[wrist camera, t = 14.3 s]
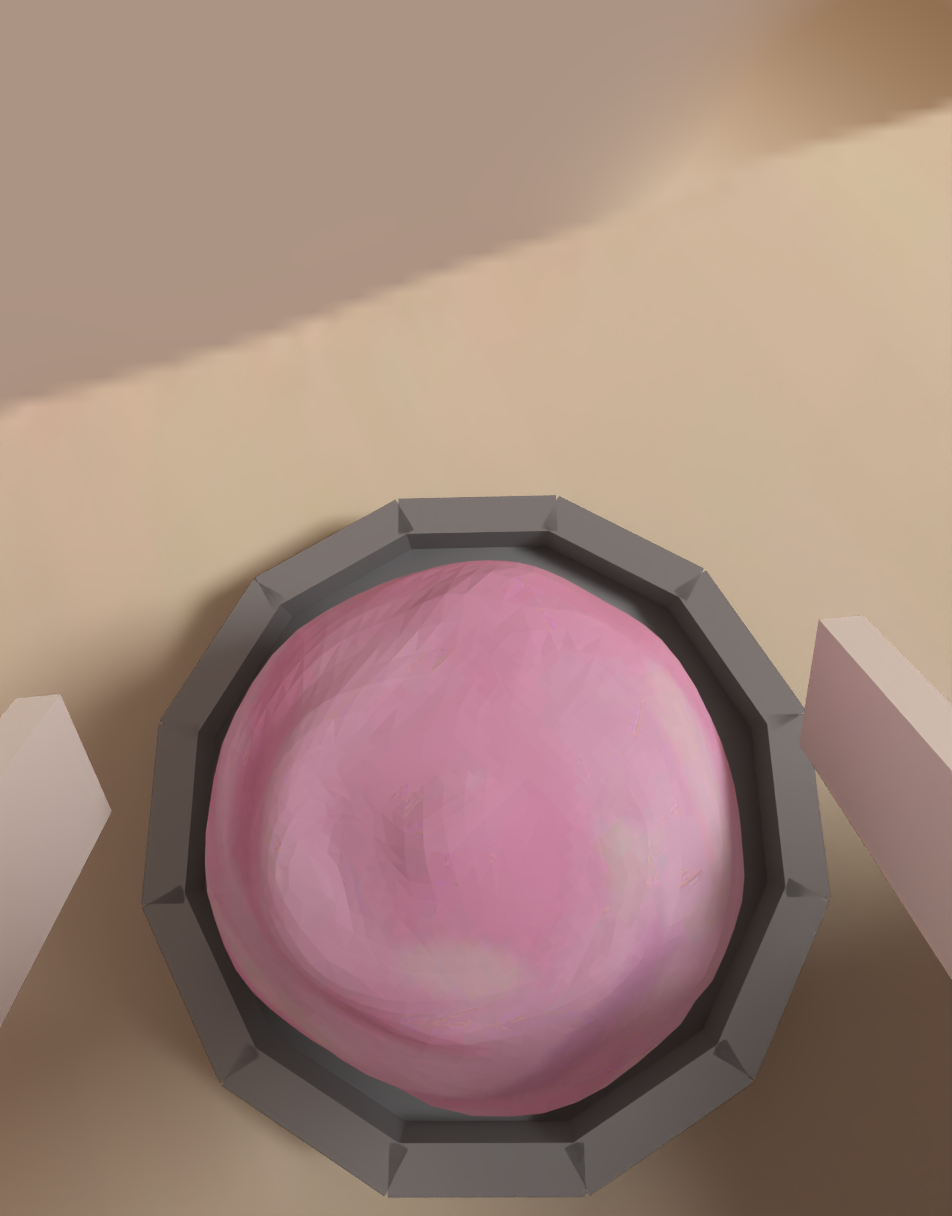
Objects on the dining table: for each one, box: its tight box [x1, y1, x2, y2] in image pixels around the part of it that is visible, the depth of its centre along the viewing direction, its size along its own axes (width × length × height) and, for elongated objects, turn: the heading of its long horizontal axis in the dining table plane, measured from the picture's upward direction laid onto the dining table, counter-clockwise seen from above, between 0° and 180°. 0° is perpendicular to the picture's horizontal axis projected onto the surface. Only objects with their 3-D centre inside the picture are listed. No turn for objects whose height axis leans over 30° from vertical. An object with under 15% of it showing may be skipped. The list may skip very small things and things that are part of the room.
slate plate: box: [142, 495, 830, 1197], centre depth 19 cm, size 17×17×2 cm
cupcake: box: [205, 560, 744, 1116], centre depth 14 cm, size 9×9×10 cm
